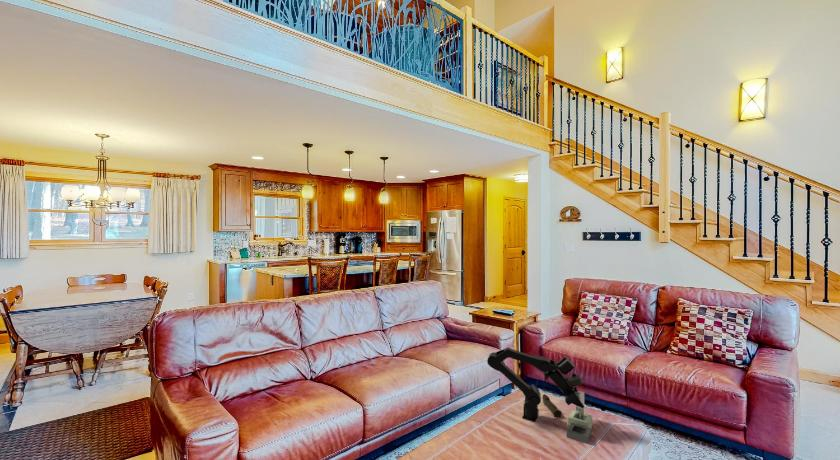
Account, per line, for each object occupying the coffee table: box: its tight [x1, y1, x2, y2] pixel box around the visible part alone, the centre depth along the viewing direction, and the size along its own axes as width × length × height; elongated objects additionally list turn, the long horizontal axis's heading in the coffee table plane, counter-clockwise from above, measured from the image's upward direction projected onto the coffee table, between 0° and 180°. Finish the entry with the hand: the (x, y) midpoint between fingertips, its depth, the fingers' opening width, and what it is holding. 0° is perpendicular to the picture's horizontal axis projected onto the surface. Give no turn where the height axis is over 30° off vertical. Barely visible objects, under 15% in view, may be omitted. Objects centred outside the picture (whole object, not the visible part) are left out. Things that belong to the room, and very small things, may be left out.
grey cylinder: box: [575, 390, 585, 420], centre depth 186 cm, size 4×4×13 cm
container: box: [566, 410, 594, 428], centre depth 186 cm, size 10×10×4 cm
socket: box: [566, 423, 593, 445], centre depth 176 cm, size 9×9×3 cm
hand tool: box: [541, 393, 562, 418], centre depth 202 cm, size 19×4×5 cm, turn 2°
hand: (583, 405), depth 185 cm, fingers closed on grey cylinder, 4 cm apart
